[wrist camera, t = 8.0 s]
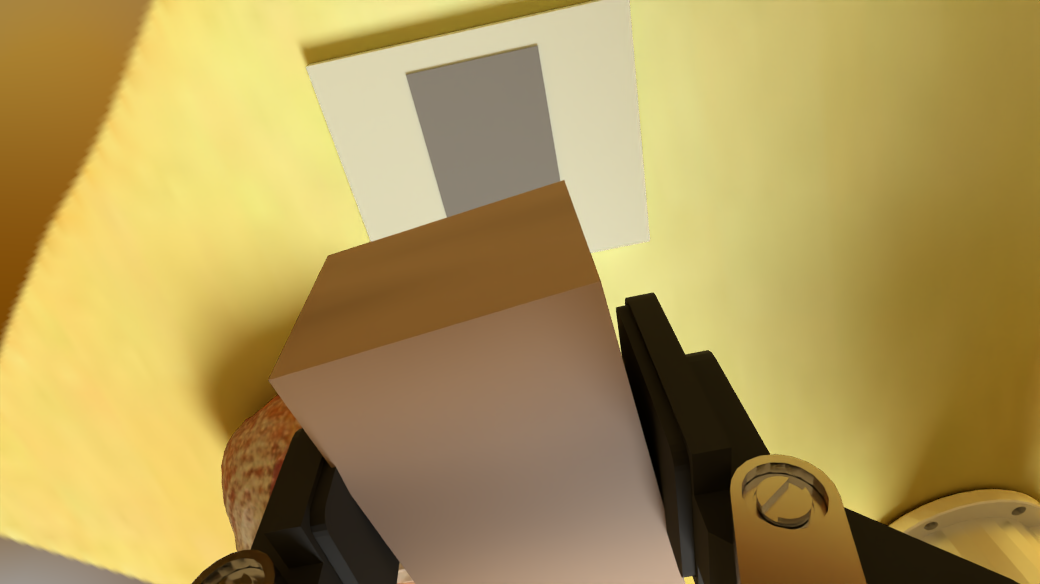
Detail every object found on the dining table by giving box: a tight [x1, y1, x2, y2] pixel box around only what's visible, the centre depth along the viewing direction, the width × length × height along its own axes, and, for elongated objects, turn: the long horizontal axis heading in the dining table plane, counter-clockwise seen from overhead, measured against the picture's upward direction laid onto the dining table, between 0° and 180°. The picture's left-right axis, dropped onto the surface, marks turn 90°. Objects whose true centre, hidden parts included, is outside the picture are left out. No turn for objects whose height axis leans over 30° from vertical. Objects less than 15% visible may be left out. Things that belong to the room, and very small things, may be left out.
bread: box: [221, 395, 415, 584], centre depth 29 cm, size 16×20×10 cm
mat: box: [306, 0, 650, 253], centre depth 24 cm, size 12×10×1 cm
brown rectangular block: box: [268, 180, 685, 584], centre depth 11 cm, size 7×4×4 cm, turn 18°
